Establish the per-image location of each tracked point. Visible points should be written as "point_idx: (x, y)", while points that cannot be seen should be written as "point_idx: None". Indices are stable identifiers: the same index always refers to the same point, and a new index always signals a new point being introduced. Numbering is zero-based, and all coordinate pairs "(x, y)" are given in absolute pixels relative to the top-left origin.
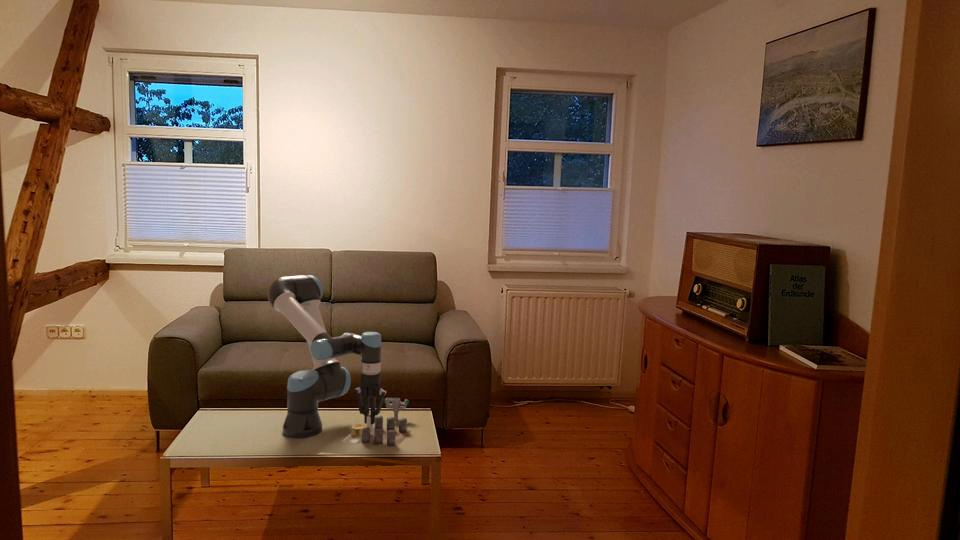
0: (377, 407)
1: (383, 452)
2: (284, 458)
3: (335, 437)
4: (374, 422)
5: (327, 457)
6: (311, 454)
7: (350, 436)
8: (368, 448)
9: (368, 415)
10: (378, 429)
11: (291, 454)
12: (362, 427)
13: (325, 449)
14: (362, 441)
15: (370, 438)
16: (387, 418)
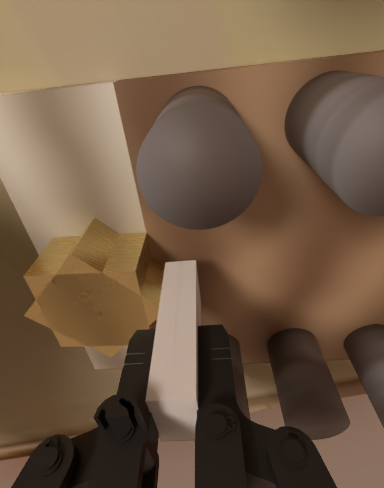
0: None
1: (331, 374)
2: (28, 455)
3: (5, 309)
4: (227, 340)
5: None
6: (74, 431)
7: None
8: None
9: (161, 423)
10: (313, 420)
11: (18, 440)
12: (130, 323)
13: (83, 402)
14: None
15: (220, 309)
16: (346, 188)
